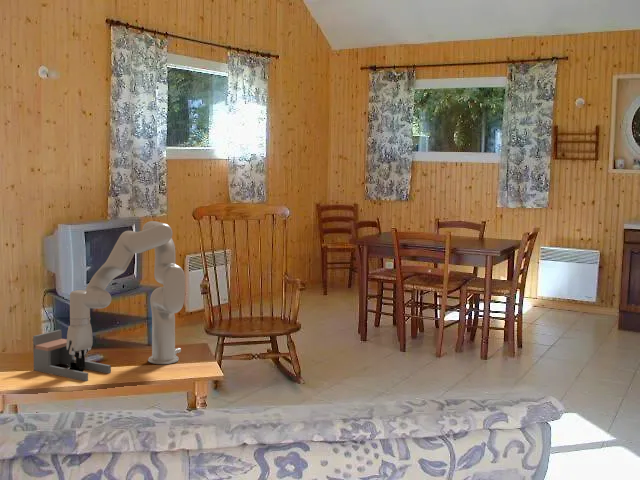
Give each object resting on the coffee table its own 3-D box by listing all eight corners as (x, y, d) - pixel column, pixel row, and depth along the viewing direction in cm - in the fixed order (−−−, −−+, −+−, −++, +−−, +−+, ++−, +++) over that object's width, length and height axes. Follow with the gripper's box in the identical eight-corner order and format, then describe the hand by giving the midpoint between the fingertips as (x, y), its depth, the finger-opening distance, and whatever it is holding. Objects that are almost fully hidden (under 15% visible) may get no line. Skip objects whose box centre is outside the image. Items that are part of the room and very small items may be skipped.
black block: (81, 377, 293) (81, 365, 292) (62, 377, 292) (62, 366, 291) (86, 368, 305) (86, 357, 305) (68, 368, 304) (67, 357, 304)
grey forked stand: (59, 362, 311) (59, 329, 309) (110, 372, 298) (110, 338, 296) (33, 370, 299) (33, 336, 297) (85, 381, 286) (85, 345, 284)
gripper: (86, 317, 302) (87, 361, 304) (58, 323, 289) (59, 369, 291) (100, 319, 299) (101, 363, 301) (72, 326, 286) (73, 372, 287)
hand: (80, 366), depth 296 cm, fingers closed
